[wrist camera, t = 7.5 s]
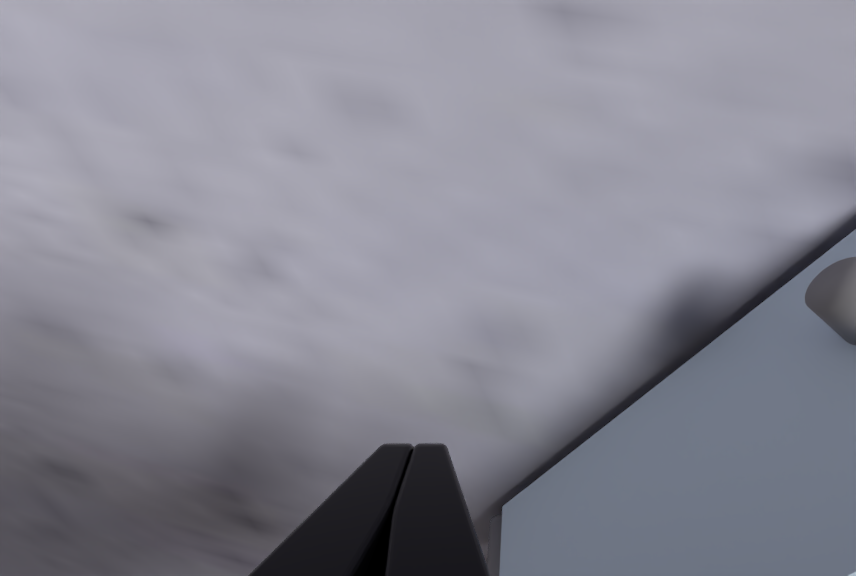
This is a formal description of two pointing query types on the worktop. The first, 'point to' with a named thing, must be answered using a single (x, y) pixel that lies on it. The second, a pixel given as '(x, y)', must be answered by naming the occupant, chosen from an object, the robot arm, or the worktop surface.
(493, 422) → the worktop surface
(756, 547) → the door
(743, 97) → the worktop surface
